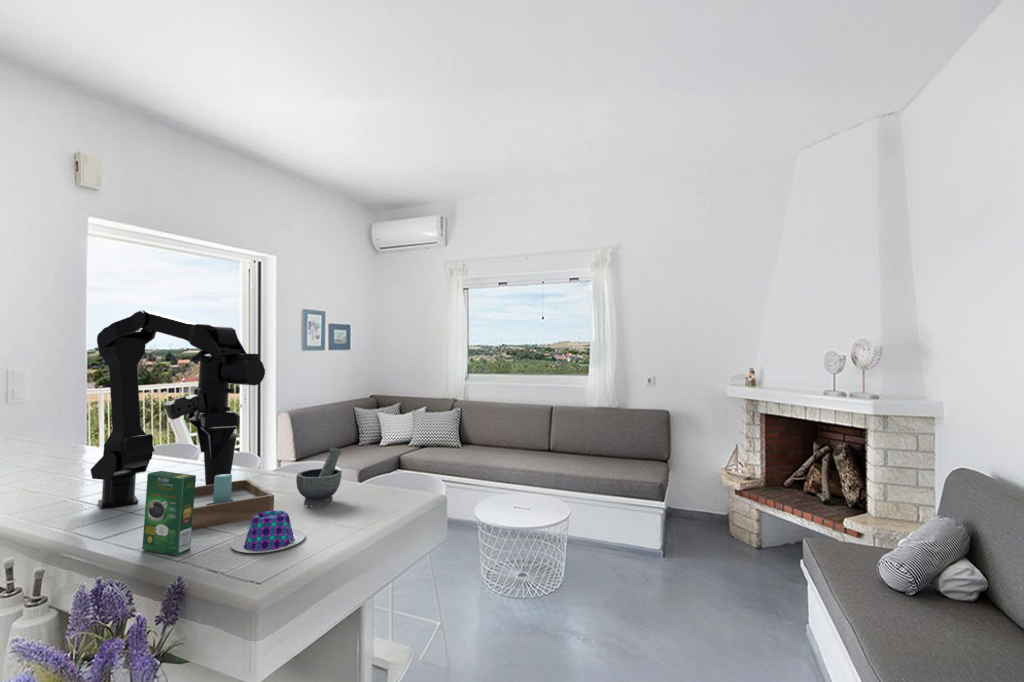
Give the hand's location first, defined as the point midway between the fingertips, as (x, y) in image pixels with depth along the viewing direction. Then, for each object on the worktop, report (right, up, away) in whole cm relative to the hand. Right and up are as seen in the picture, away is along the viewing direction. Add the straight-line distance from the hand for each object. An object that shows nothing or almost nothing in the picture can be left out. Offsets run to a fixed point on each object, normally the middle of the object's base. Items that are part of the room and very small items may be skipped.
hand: (208, 455), depth 103 cm
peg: (+4, -12, -2) cm, 13 cm away
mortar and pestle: (+21, -13, +8) cm, 26 cm away
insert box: (+3, -12, -1) cm, 12 cm away
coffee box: (+7, -11, -22) cm, 25 cm away
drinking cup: (-8, -13, +16) cm, 22 cm away
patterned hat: (+22, -12, -17) cm, 30 cm away
